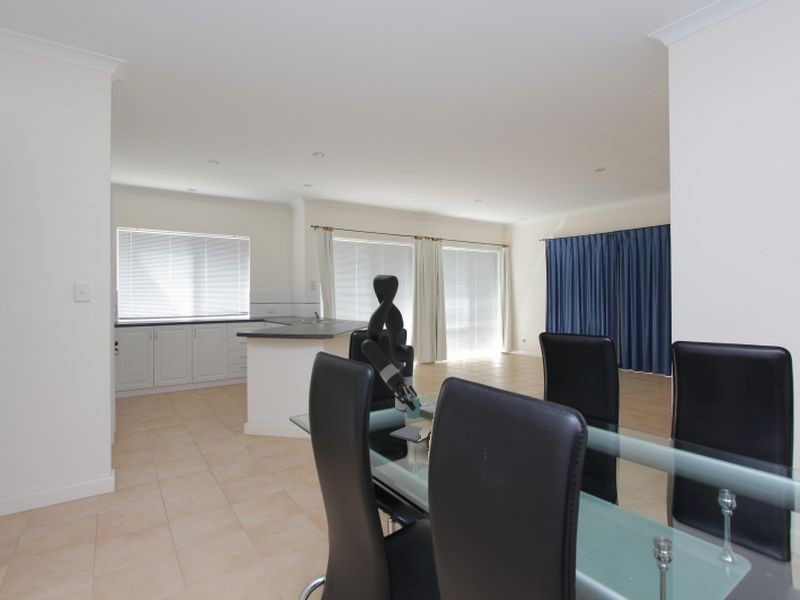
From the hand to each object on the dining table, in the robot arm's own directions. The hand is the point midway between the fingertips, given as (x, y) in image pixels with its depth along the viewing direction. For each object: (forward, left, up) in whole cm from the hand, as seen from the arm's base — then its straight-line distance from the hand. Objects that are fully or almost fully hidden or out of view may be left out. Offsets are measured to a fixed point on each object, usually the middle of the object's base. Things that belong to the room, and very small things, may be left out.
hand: (417, 408), depth 175 cm
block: (0, -2, -4) cm, 5 cm away
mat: (0, -2, -12) cm, 12 cm away
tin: (+6, +16, -12) cm, 21 cm away
